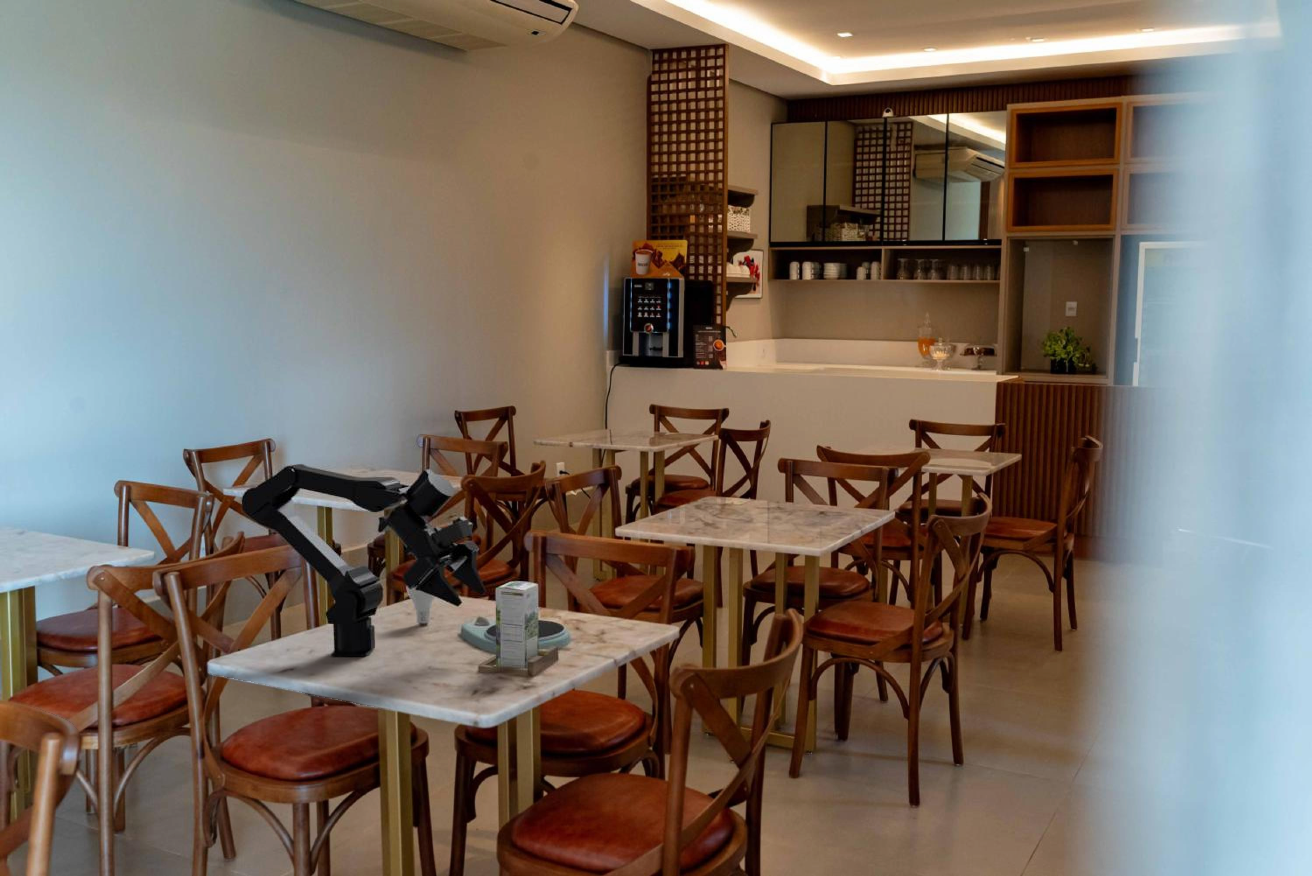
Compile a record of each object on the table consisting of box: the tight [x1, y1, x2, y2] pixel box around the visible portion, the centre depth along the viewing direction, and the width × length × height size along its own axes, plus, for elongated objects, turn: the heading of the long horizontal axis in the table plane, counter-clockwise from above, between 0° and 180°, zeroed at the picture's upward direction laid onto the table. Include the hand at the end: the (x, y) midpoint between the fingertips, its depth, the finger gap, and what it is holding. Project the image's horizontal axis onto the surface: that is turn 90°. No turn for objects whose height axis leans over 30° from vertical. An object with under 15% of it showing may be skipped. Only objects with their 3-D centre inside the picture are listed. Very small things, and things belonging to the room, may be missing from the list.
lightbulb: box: [406, 583, 436, 626], centre depth 230 cm, size 6×6×11 cm
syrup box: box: [495, 580, 539, 668], centre depth 199 cm, size 6×6×14 cm
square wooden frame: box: [477, 646, 559, 677], centre depth 199 cm, size 11×11×3 cm
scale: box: [460, 615, 572, 654], centre depth 218 cm, size 18×4×25 cm
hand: (472, 599), depth 201 cm, fingers open, 9 cm apart
